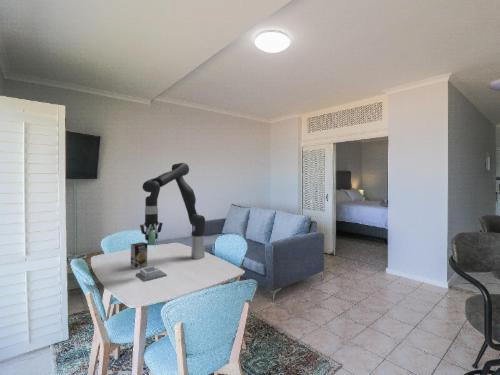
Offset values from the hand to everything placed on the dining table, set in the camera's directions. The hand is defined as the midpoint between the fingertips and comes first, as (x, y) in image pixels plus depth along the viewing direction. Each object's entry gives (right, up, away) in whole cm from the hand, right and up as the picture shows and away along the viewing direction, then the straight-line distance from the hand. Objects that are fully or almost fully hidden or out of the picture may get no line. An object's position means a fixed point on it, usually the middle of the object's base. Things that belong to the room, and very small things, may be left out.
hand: (151, 239), depth 167 cm
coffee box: (-15, -22, +16) cm, 31 cm away
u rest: (0, -23, +1) cm, 23 cm away
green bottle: (0, -3, 0) cm, 3 cm away
